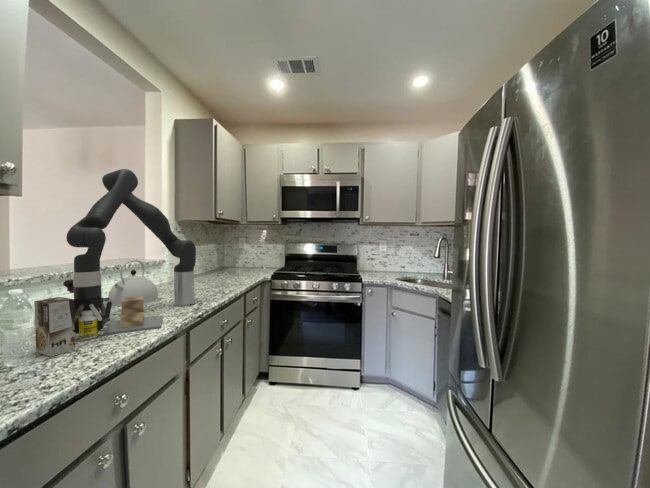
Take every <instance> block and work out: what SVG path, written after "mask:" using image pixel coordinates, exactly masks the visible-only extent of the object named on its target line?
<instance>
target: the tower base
mask: <svg viewBox="0 0 650 488" xmlns="http://www.w3.org/2000/svg"><path fill="white" fill-rule="evenodd" d="M119 318H120V319H119V320H120V323H121V328H123V327H131V326H139V325H143V322H144V318H145V311H144V312H140V313H132V314H125V315H122V312H121V313H120V314H119Z"/></svg>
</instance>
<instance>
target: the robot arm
mask: <svg viewBox="0 0 650 488" xmlns="http://www.w3.org/2000/svg"><path fill="white" fill-rule="evenodd" d="M101 183H102V185H103V187H104V188H105V189H106V190H107V192H106V194H104V195H103V196H102V197H100V198H99V199H98V200H97V201H96V202H95V203H94V204H93V205H92V206H91V208H90V210H89V211H88V213H87V214H86V215H85V216H84V217H83V218H81V219H79V221H77V222H76V223H75V224H74V225H73V226H72V227H70V229H69V230H68V231H67V233H66V242H67V244H69V246H71V247H73V248H87V251H86V252H85V253H82V254H77V255H75V257H74V259H73V285H74V293H73V299H74V308H75V309H76V310H77V313H76V315H75V318H74V332H75V334H76V335H79V318H80V317H81V313H82V311H90V310H92V311H93V313H94V315H95V316H96V317H97V319H98V321H97V322H98V331H99V332H101V331H102V330H103V329H104V326H105V325H104V324H105V323H104V319H106V318H108V317H109V316H110V315H111V311H112V307H113V306H112V303H113V301H112V300H110V301H103V299H102V297H103V295H102V275H101V256H102V254H103V250H104V247H105V244H106V240H107V237H106V233H105V232H104V230H105V229H106V228H107V227H108V226H109V224H110V223H111V221H112V219H113V218H114V215H115V214H116V212H117V211H118V209H119V208H120V207H121V206H122V204H123V206H125V207H126V208H127V209H129V211H131V212H132V214H133V215H135V216H136V218H137V219H139V220H140V222H142V224H143V225H144V226H145V227H146V228H147V229H148V230H149V231H151V233H153V234H154V236H155V237H156V238H157V239H159V241H160V242H161V243H163V245H164V246H165V248H166V249H167V251H168V252H169V253H170V254H171V255H172V256H173V257H175V258H177V259H179V262H178V264H176V265H174V268H173V281H174V282H173V283H174V285H173V286H174V287H173V289H174V291H173V292H174V293H173V295H174V296H173V297H174V303H173V304H174V306H175V307H186V306H191V305H195V275H194V274H195V266H196V263H197V262H196V260H197V259H196V258H197V256H196V255H197V248H196V245H195V243H194V242H193V241H191V240H187V239H186V240H185V239H184V240H182V239H180V238H179V237H177V236H176V235H175V234H174V232H173V231H172V229H171V223H170V222H169V219H168V218H167V217H166V215H165V214H164V213H163V212H162V211H161V210H160V209H159V208H158V207H157V206H155V205H153V204H152V203H149V202H147V201H144V200H142V199H140V198H139V197H137V196H136V195H135V194H134V193H133V192H134V191H135V190H136V188H137V187H138V185H139V179H138V177H137V175H136V174H135V173H134V171H132V170H130V169H129V168H128V169H127V168H121V169H117V170H115V171H112V172H109V173H106V174H104V175H103V176H102V182H101ZM102 304H104V306H105V307H106V311H105V315H102V313H101V310H100V309H99V307H100V306H101V305H102ZM190 304H191V305H190ZM110 317H111V316H110Z"/></svg>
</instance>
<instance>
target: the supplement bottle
mask: <svg viewBox="0 0 650 488" xmlns="http://www.w3.org/2000/svg"><path fill="white" fill-rule="evenodd" d="M81 315H82V316H81V317H80V318H79V334H78V339H79V340H83V341H84V340H85V341H87V340H92V339H95V338H97V337H98V336H99V333H100V331H98V322H97V321H98V319H97V317H96V316H95V315H94V313H93V311H92V310H90V311H82V313H81Z"/></svg>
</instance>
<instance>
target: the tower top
mask: <svg viewBox="0 0 650 488" xmlns="http://www.w3.org/2000/svg"><path fill="white" fill-rule="evenodd" d="M140 312H144V313H145V308H144V304H143V297H142V296H140V297H130V298H122V307H121V313H122V315H125V314H132V313H140Z"/></svg>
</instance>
